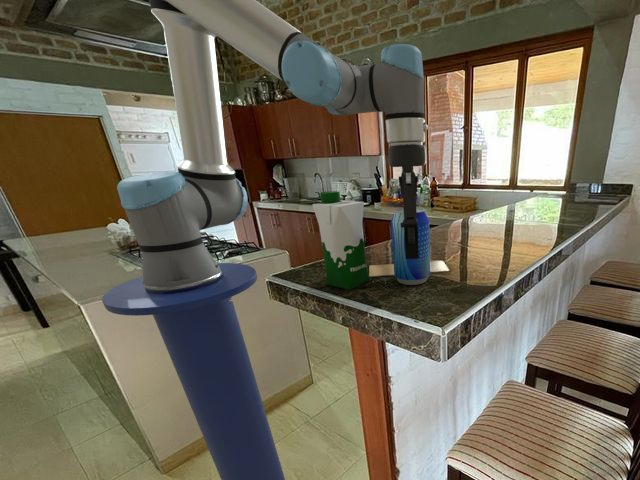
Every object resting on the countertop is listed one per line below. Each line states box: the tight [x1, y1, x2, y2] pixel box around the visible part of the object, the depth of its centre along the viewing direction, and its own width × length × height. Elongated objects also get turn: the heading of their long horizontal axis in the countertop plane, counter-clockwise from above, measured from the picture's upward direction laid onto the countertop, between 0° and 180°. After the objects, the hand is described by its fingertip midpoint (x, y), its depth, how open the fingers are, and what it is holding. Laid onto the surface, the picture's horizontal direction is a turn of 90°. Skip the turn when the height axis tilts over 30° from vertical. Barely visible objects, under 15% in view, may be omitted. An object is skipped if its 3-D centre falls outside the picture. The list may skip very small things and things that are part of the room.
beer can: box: [390, 207, 431, 286], centre depth 75 cm, size 8×8×16 cm
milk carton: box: [312, 190, 370, 290], centre depth 74 cm, size 9×9×20 cm
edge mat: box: [368, 260, 450, 278], centre depth 87 cm, size 20×9×1 cm, turn 98°
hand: (411, 250), depth 75 cm, fingers open, 13 cm apart
